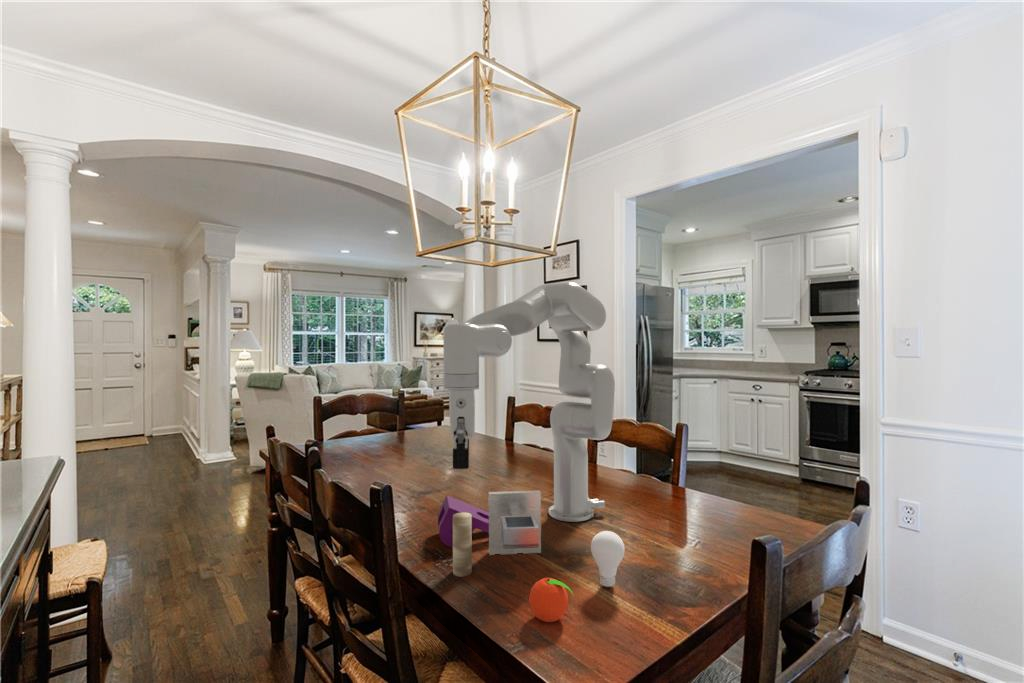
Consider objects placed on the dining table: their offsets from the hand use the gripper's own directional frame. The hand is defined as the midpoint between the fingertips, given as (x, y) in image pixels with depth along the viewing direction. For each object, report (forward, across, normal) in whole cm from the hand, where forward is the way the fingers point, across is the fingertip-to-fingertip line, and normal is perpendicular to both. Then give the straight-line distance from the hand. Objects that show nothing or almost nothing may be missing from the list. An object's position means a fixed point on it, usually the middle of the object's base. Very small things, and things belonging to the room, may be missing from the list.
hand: (461, 462), depth 103 cm
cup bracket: (+23, +2, -12) cm, 26 cm away
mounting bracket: (+24, +18, -3) cm, 30 cm away
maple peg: (+23, 0, 0) cm, 23 cm away
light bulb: (+24, -9, -29) cm, 39 cm away
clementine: (+24, -19, -16) cm, 34 cm away
